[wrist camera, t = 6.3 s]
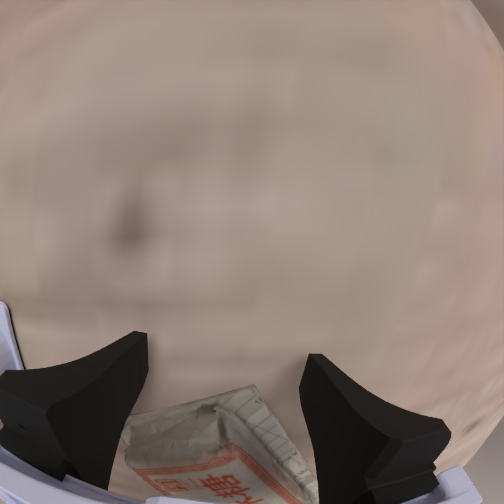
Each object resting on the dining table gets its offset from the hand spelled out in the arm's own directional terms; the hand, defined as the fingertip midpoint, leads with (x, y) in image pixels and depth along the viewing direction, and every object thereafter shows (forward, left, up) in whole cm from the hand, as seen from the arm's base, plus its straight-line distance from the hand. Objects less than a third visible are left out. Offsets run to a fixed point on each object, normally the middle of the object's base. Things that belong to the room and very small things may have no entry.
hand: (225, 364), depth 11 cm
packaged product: (+2, -12, -2) cm, 13 cm away
